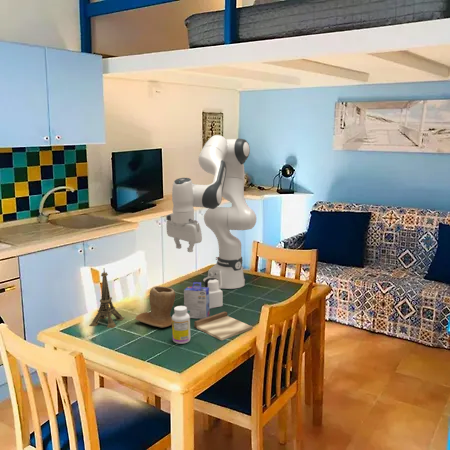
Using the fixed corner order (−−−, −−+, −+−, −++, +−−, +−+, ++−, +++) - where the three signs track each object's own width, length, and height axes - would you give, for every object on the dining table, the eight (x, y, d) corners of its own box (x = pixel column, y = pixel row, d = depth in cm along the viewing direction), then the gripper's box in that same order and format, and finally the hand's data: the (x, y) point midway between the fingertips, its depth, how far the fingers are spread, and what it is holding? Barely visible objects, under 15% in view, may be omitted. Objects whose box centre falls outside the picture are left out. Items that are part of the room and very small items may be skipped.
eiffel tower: (113, 328, 198) (109, 267, 193) (89, 326, 201) (85, 266, 196) (124, 318, 208) (121, 260, 204) (101, 316, 211) (97, 259, 206)
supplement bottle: (177, 335, 191) (176, 303, 188) (193, 338, 188) (192, 305, 186) (169, 342, 184) (168, 309, 182) (185, 345, 182) (184, 312, 180)
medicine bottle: (201, 303, 224) (200, 278, 221) (215, 301, 227) (215, 275, 225) (208, 309, 218) (207, 282, 215) (222, 306, 221) (222, 280, 218)
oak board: (194, 327, 198) (194, 321, 198) (224, 317, 208) (224, 311, 208) (221, 340, 186) (221, 334, 185) (252, 328, 196) (252, 322, 196)
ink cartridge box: (210, 314, 211) (209, 281, 208) (207, 319, 206) (206, 286, 203) (187, 313, 213) (186, 280, 210) (184, 318, 208) (183, 284, 205)
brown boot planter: (182, 322, 204) (181, 287, 201) (162, 332, 194) (161, 295, 191) (154, 314, 212) (153, 280, 209) (134, 323, 203) (132, 288, 200)
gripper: (205, 220, 202) (205, 253, 204) (175, 213, 217) (176, 244, 220) (192, 222, 198) (193, 256, 200) (163, 215, 213) (164, 247, 216)
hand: (184, 250), depth 210 cm, fingers open, 7 cm apart
